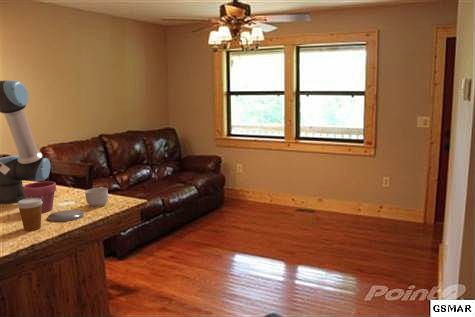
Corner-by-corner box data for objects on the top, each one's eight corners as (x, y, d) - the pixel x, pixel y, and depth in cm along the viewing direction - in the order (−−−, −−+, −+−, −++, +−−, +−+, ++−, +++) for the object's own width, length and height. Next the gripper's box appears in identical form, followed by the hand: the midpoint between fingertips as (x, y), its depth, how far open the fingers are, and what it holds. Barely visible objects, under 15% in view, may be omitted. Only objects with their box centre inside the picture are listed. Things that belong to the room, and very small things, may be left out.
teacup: (101, 208, 203) (100, 192, 202) (81, 207, 205) (80, 191, 204) (115, 201, 216) (114, 186, 215) (96, 200, 219) (95, 185, 217)
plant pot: (27, 208, 205) (24, 182, 203) (58, 205, 210) (56, 180, 208) (23, 216, 192) (21, 189, 190) (57, 212, 197) (54, 186, 195)
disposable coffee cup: (25, 225, 179) (22, 198, 177) (48, 224, 180) (46, 197, 178) (15, 232, 170) (12, 204, 168) (40, 231, 171) (37, 203, 169)
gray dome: (50, 213, 196) (50, 211, 195) (84, 210, 200) (84, 208, 200) (45, 223, 181) (45, 221, 181) (82, 219, 186) (82, 217, 186)
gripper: (-58, 139, 162) (-11, 173, 174) (-50, 144, 143) (3, 181, 155) (-43, 124, 165) (3, 159, 176) (-33, 127, 146) (18, 165, 158)
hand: (3, 169), depth 166 cm, fingers open, 13 cm apart
